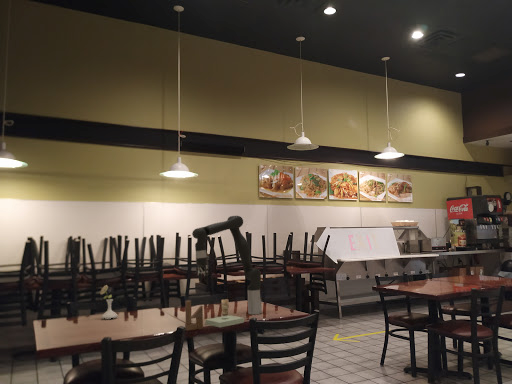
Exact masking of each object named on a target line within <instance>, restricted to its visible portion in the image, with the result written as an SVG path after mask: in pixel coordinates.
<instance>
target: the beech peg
mask: <svg viewBox="0 0 512 384" xmlns="http://www.w3.org/2000/svg"><path fill="white" fill-rule="evenodd" d="M229 303H230V302H229V299H226V298H225V299H224V298H223V299H221V303H220V304H221V310H222V311H221V312H222V313H221V314H222V316H228V315H229V309H230V307H229Z"/></svg>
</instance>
